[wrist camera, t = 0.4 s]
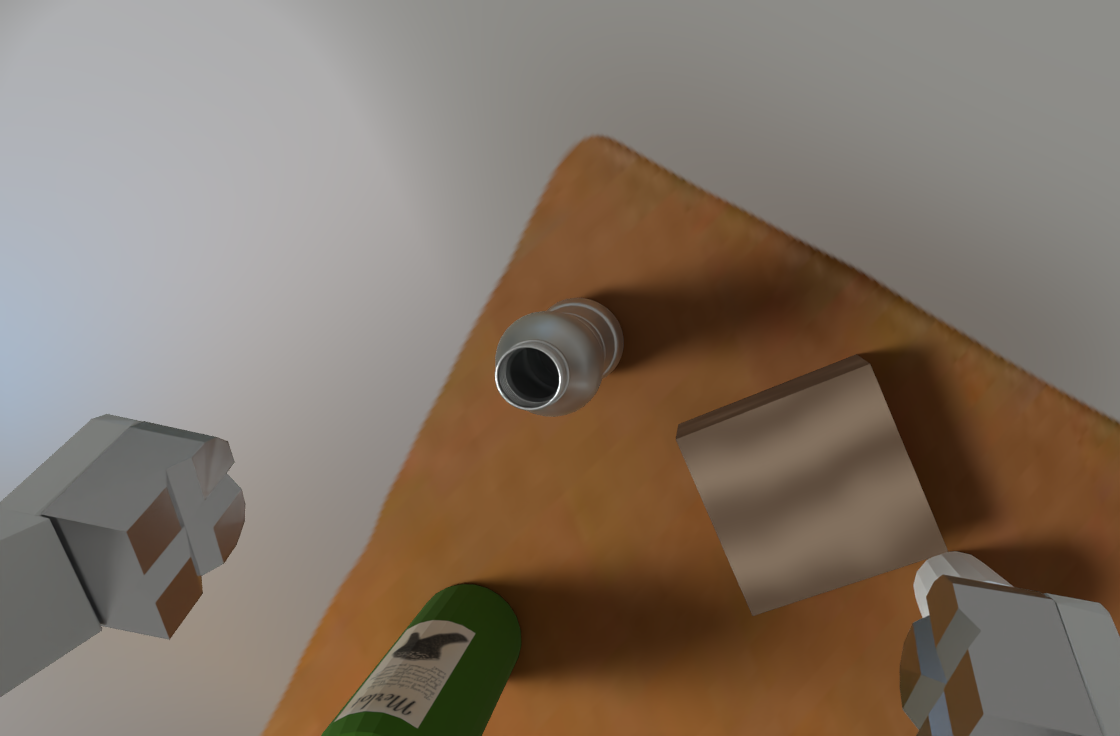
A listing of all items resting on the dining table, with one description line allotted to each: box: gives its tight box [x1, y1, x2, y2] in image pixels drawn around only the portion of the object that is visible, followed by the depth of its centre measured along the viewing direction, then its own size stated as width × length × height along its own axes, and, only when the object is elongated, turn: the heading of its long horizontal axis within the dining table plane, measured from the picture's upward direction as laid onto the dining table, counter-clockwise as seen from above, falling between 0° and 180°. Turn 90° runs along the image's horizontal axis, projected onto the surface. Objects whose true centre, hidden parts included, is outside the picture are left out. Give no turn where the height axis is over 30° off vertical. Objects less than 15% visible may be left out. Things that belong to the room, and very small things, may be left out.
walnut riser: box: [676, 354, 948, 616], centre depth 58 cm, size 14×14×5 cm
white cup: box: [914, 551, 1013, 618], centre depth 56 cm, size 7×7×7 cm
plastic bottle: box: [495, 298, 624, 417], centre depth 52 cm, size 6×7×20 cm
